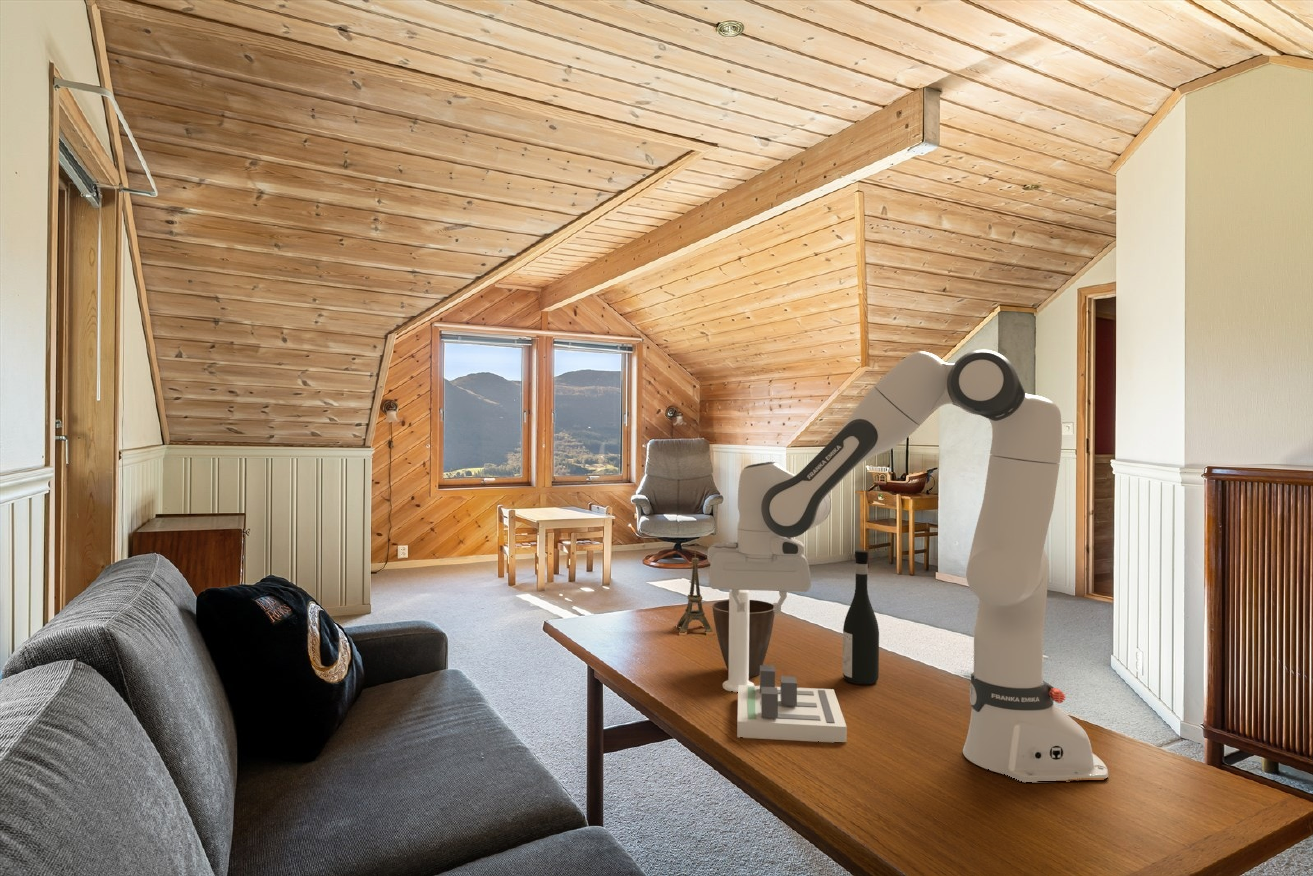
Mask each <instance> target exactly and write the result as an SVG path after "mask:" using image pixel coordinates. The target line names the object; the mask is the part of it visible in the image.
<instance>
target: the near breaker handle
mask: <svg viewBox="0 0 1313 876" xmlns="http://www.w3.org/2000/svg"><path fill="white" fill-rule="evenodd" d="M777 687H778V686H775V687H761V715H762V717H773V718H778V691H777Z"/></svg>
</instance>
